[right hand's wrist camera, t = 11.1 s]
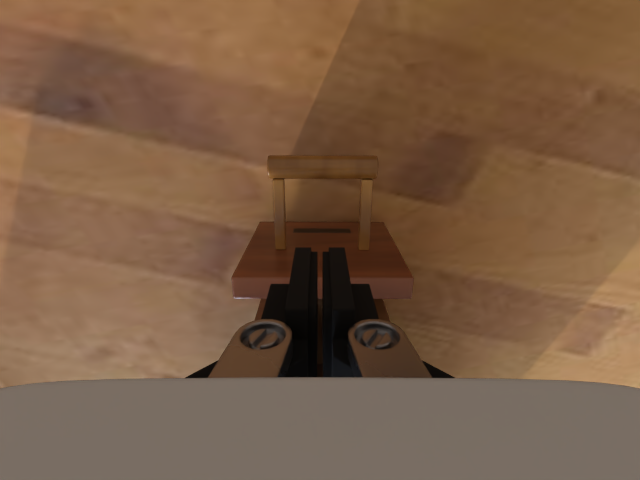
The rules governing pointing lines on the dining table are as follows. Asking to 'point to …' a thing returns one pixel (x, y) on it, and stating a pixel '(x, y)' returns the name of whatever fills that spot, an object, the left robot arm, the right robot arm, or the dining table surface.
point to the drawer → (323, 239)
